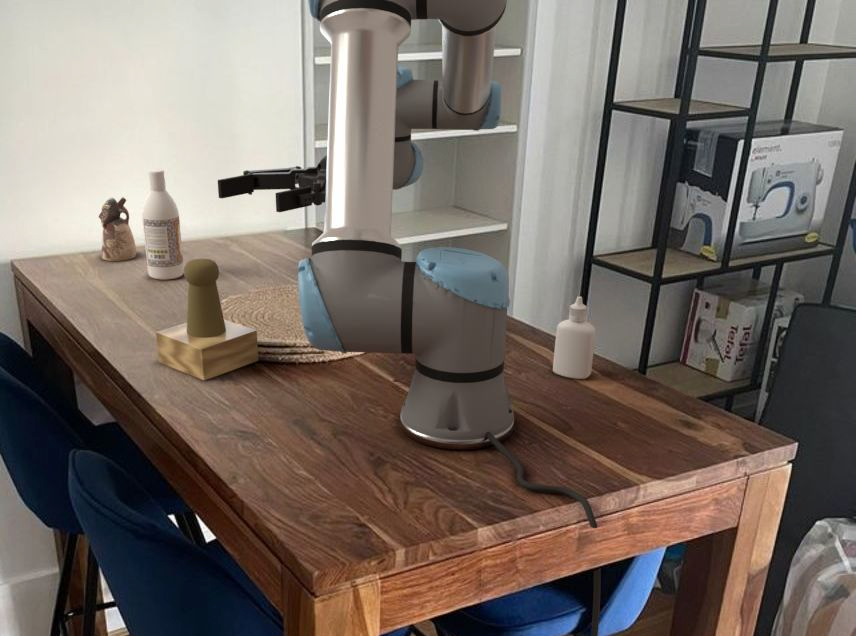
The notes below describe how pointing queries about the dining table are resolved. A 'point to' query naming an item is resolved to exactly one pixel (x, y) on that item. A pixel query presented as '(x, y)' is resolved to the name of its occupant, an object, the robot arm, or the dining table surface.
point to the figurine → (116, 232)
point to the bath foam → (162, 230)
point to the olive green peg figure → (203, 299)
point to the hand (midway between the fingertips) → (247, 195)
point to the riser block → (207, 350)
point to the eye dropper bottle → (574, 344)
